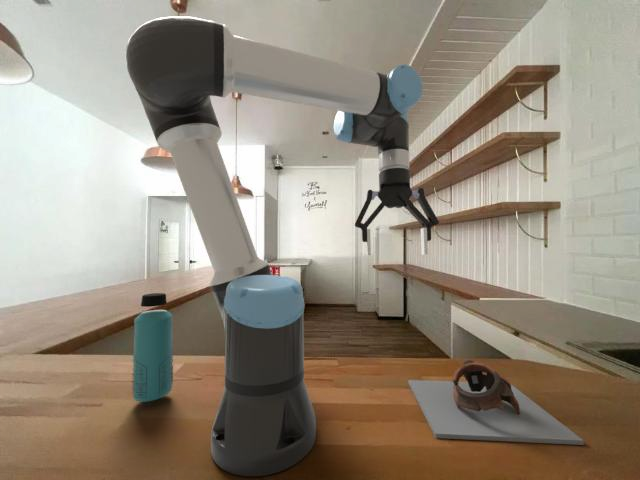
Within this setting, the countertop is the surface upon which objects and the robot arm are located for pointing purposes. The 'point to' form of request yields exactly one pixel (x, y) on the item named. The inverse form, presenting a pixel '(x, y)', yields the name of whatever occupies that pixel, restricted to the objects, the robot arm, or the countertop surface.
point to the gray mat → (487, 417)
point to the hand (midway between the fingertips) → (396, 255)
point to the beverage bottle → (152, 351)
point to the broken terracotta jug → (477, 381)
